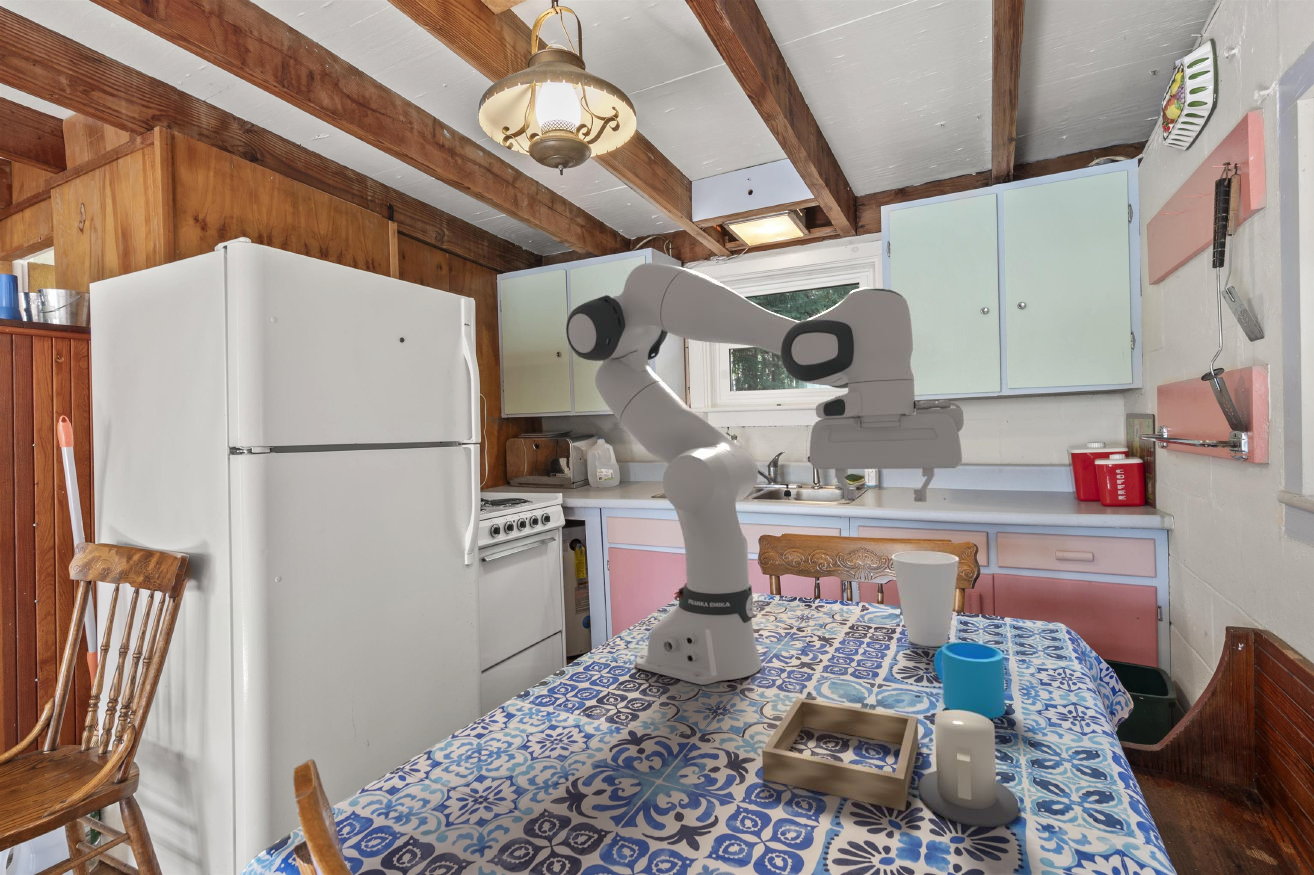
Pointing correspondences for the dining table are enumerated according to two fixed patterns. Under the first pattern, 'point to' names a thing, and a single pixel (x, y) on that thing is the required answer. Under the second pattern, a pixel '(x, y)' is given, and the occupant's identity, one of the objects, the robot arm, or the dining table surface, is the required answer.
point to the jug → (965, 758)
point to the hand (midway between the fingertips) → (884, 500)
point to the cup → (926, 594)
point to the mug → (972, 678)
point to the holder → (841, 775)
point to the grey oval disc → (985, 817)
